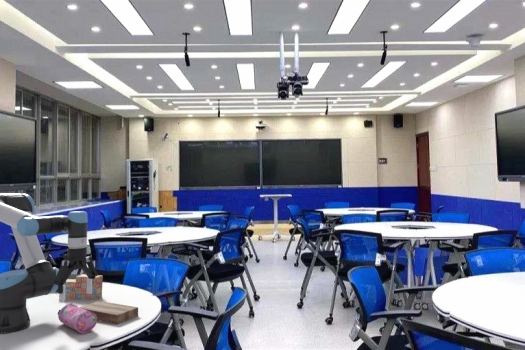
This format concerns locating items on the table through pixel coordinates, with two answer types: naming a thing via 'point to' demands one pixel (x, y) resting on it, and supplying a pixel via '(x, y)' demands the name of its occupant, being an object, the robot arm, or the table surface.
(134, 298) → the table surface
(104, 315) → the walnut riser
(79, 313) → the pencil case
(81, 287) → the stack of blocks
